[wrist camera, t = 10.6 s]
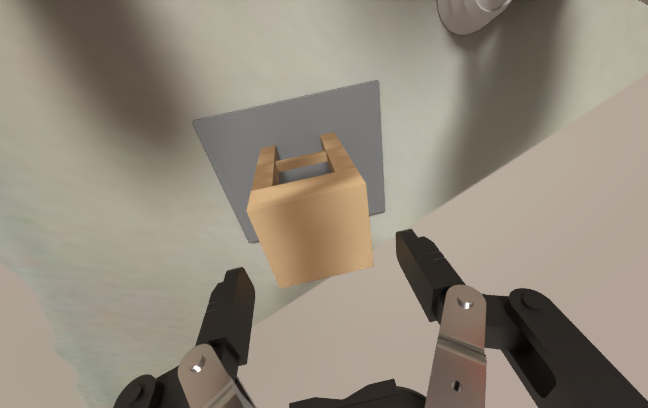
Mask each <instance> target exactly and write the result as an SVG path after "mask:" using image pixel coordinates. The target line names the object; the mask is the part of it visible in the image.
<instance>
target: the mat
mask: <svg viewBox="0 0 648 408" xmlns="http://www.w3.org/2000/svg"><path fill="white" fill-rule="evenodd" d="M192 124H193V126H194V129H195V131H196V133H197V135H198V137H199V139H200V141H201V143H202V145H203V147H204V150H205V152H206V154H207V156H208V158H209V160H210V162H211V164H212V166H213V169H214V171H215V173H216V175H217V177H218V179H219V181H220V183H221V185H222V187H223V190H224V192H225V194H226V196H227V198H228V200H229V202H230V204H231V206H232V209H233V211H234V213H235V215H236V217H237V219H238V221H239V223H240V225H241V227H242V230H243V232H244V234H245V236H246V238H247V240H248V242H249V243H251V242H255V241H259V239H258V237H257V234H256V232H255V230H254V228H253V225H252V223H251V221H250V218H249V216H248V214H247V206H248V202H249V198H250V193H251V189H252V184H253V180H254V175H255V171H256V166H257V162H258V158H259V153H260V149H261V148H264V147H268V146H273V145H276V148H277V152H278V155H279V159H280V160H284V159H289V158H293V157H298V156H302V155H307V154H311V153H315V152H320V151H323V150H322V145H321V140H320V135H322V134H327V133H331V132H335V134H336V136H337V137H338V139H339V140H340V142H341V144H342V145H343V147H344V149H345V150H346V152H347V154H348V155H349V157H350V158H351V160H352V162H353V163H354V165H355V167H356V168H357V170H358V172H359V173H360V175H361V176H362V178H363V180H364V181H365V183H366V188H367V199H368V209H369V215H371V214H375V213H380V212H384V211H385V196H384V175H383V154H382V134H381V113H380V92H379V81H378V80H375V81H370V82H366V83H361V84H357V85H352V86H348V87H343V88H338V89H334V90H329V91H325V92H320V93H316V94H311V95H307V96H302V97H298V98H293V99H289V100H284V101H280V102H275V103H271V104H266V105H262V106H257V107H252V108H248V109H243V110H239V111H234V112H230V113H225V114H221V115H216V116H212V117H207V118H203V119H198V120H194V121H192ZM329 173H331V170H330V168H329V165H328V163H327V162H322V163H318V164H313V165H309V166H305V167H300V168H296V169H291V170H287V171H282V172H279V185H280V184H285V183H289V182H294V181H298V180H303V179H307V178H311V177H316V176H320V175H325V174H329Z"/></svg>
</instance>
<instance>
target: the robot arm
mask: <svg viewBox="0 0 648 408" xmlns="http://www.w3.org/2000/svg"><path fill="white" fill-rule="evenodd" d="M396 254H397V259H398V262H399V264H400V266H401V268H402V270H403V272H404V274H405V276H406V278H407V280H408V282H409V283H410V285H411V287H412V289H413V291H414V293H415V295H416V297H417V299H418V300H419V302H420V304H421V306H422V308H423V310H424V312H425V314H426V316H427V318H428V320H429V322H433V321H438V323H439V324H440V330H439V336H438V339H437V344H436V350H435V355H434V360H433V366H432V371H431V376H430V382H429V387H428V392H427V397H425V396H424V395H422V394H420V393H418V392H416V391H414V390H411V389H409V388H405V387H399V386H396V383H395V380H394V379H391V380H386V381H382V382H378V383H374V384H370V385H367V386H365V387H364V388H362V389H360V390H359V391H357V392H355V393H354V394H352V395H350V396H349V397H347V398H345V399H342V400H339V399H328V398H317V397H315V398H310V399H306V400H302V401H297V402H293V403H290V404H289V408H485V388H486V355H485V354H484V348H493V349H501V351H502V352H503V354H504V355H505V357H506V358H507V360H508V361H509V363H510V365H511V366H512V368H513V369H514V371H515V372H516V374H517V375H518V377H519V378H520V380H521V381H522V383H523V385H524V386H525V388H526V389H527V391H528V392H529V394H530V395H531V397H532V399H533V400H534V402H535V403H536V405H537V406H538V408H648V401H647V400H646V399H645V398H644V397H643V396H642V395H641V394H640V393H639V392H638V391H637V390H636V389H635V388H634V387H633V386H632V385H631V383H630V382H629V381H628V380H627V379H626V378H625V377H624V376H623V375H622V374H621V373H620V372H619V371H618V370H617V369H616V368H615V367H614V366H613V365H612V364H611V363H610V362H609V361H608V360H607V359H606V358H605V357H604V356H603V355H602V353H601V352H600V351H599V350H598V349H597V348H596V347H595V346H594V345H593V344H592V343H591V342H590V341H589V340H588V339H587V338H586V337H585V336H584V335H583V334H582V333H581V332H580V331H579V329H578V328H577V327H576V326H575V325H574V324H573V323H572V322H571V321H570V320H569V319H568V318H567V317H566V316H565V315H564V314H563V313H562V312H561V311H560V310H559V309H558V308H557V307H556V306H555V305H554V304H553V303H552V302H551V301H550V300H549V299H548V298H547V297H546V296H544V295H543V294H541V293H539V292H537V291H534V290H531V289H525V288H520V289H515V290H513V291H512V292H511V293H510V295H509V296H495V295H485V294H481V293H480V292H479V291H477V290H476V289H474V288H472V287H470V286H467V285H466V284H465V283H464V282H463V281H462V279H461V278H460V277H459V276H458V274H457V273H456V272H455V270H454V269H453V268H452V267H451V265H450V264H449V262H448V261H447V260H446V259H445V258H444V256H443V254H442V253H441V252H440V251H439V249H438V248H437V247H436V245H435V244H434V243H433V242H432V241H431V240H429V239H427V238H426V237H419V238H418V237H417V236H416V234H415V233H414V232H413V230H412V229H407V230H403V231H399V232H396ZM254 302H255V290H254V286H253V284H252V282H251V280H250V278H249V277H248V275H247V273H246V271H245V269H244V268H243V267H240V268H236V269H231V270H228V271H227V272H226V274H225V278H224V281H223V282H221V283H218V284H217V286H216V287H215V289H214V290H213V292H212V293H211V297H210V300H209V305H208V306H207V310H206V313H205V316H204V319H203V323H202V326H201V329H200V333H199V336H198V339H197V342H196V345H195V347H194V348H192V349H191V350H190V351H189V352H188V353H187V354H186V355H185V356H184V357H183V359H182V360H181V362H180V365H179V366H177V367H176V368H174V369H172V370H170V371H168V372H167V373H165V374H163V375H161V376H160V377H158V378H154V377H153V376H152V375H142V376H140V377H138V378H136V379H134V380H133V381H132V382H130V383H129V384H128V385H127V386H126V387H125V388H124V390H123V391H122V392H121V393H120V395H119V397H118V398H117V400H116V402H115V405H114V407H113V408H257V407H256V406H255V404H254V403H253V401H252V399H251V398H250V396H249V394H248V393H247V391H246V390H245V388H244V386H243V385H242V383H241V381H240V380H239V378H238V376H237V370H238V366H241V365H245V364H247V358H248V350H249V342H250V334H251V326H252V318H253V310H254Z"/></svg>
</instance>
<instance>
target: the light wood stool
mask: <svg viewBox="0 0 648 408" xmlns="http://www.w3.org/2000/svg"><path fill="white" fill-rule="evenodd" d="M320 140H321V145H322V150H323V151H320V152H315V153H311V154H307V155H302V156H298V157H293V158H289V159H284V160H280V159H279V155H278V152H277V148H276V145H273V146H268V147H264V148H261V149H260V153H259V158H258V162H257V166H256V171H255V175H254V180H253V184H252V189H251V193H250V198H249V202H248V206H247V214H248V216H249V218H250V221H251V223H252V225H253V228H254V230H255V232H256V234H257V237H258V239H259V241H260V244H261V246H262V248H263V250H264V253H265V255H266V257H267V260H268V262H269V264H270V266H271V269H272V271H273V273H274V276H275V278H276V280H277V282H278V285H279V287H280V288H284V287H289V286H293V285H297V284H301V283H306V282H310V281H314V280H318V279H323V278H327V277H331V276H335V275H340V274H344V273H348V272H352V271H356V270H361V269H365V268H369V267H373V266H374V264H373V253H372V242H371V231H370V220H369V209H368V199H367V188H366V183H365V181H364V180H363V178H362V176H361V175H360V173H359V172H358V170H357V168H356V167H355V165H354V163H353V162H352V160H351V158H350V157H349V155H348V154H347V152H346V150H345V149H344V147H343V145H342V144H341V142H340V140H339V139H338V137H337V136H336V134H335V132H331V133H327V134H322V135H320ZM322 162H327V163H328V165H329V168H330V170H331V173H329V174H325V175H320V176H316V177H311V178H307V179H303V180H298V181H294V182H289V183H285V184H280V185H279V172H282V171H287V170H291V169H296V168H300V167H305V166H309V165H313V164H318V163H322Z"/></svg>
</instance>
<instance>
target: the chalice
mask: <svg viewBox="0 0 648 408" xmlns="http://www.w3.org/2000/svg"><path fill="white" fill-rule="evenodd" d="M437 1H438V12H439V15H440V17H441V20H442V23H443V24H444V25H445V26H446V27H447V29H448V30H449V31H451V32H454V33H456V34H458V35H462V34H471V33H473V32H476V31H478V30H480V29H481V28H482V27H484V26H485V25H486V24H487V23H489V22H490V21H491V20H492V19H494V18H495V17H496V16H498V15H499V14H500V13H501V12H503V11H504V10H505V9H506V8H507V6H508V5H509V4H510V3H511V1H512V0H437ZM639 1H641V2H643V3H645V4H647V5H648V0H639Z"/></svg>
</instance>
